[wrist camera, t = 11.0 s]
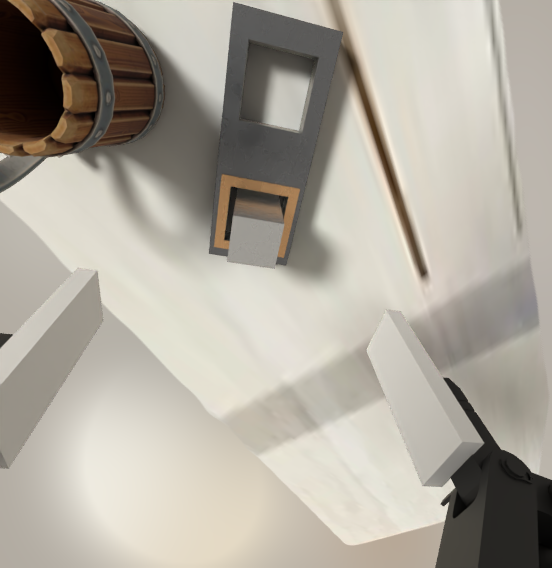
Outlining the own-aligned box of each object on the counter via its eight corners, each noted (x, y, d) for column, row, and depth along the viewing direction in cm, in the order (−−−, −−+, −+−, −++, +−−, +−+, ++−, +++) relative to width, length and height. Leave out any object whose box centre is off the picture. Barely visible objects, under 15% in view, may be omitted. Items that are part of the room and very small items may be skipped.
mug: (81, -34, 25) (-107, -167, 12) (190, 80, 29) (139, 73, 16) (-1, 122, 30) (-192, 147, 17) (102, 199, 34) (10, 265, 21)
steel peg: (238, 187, 34) (233, 215, 27) (278, 194, 35) (284, 224, 27) (233, 225, 36) (227, 261, 29) (270, 231, 37) (274, 268, 30)
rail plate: (235, 9, 26) (233, 1, 24) (336, 36, 28) (343, 31, 25) (211, 244, 38) (208, 254, 35) (284, 255, 39) (286, 265, 37)
